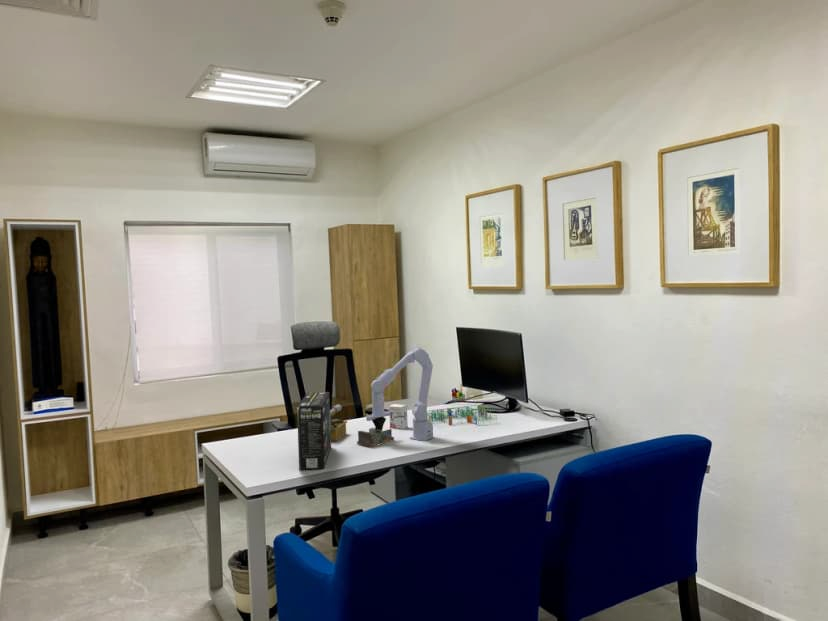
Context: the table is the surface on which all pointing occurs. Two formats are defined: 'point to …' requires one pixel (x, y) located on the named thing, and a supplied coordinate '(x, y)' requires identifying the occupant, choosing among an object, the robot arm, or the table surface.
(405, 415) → the ink box
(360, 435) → the stone ruin model
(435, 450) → the table surface
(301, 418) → the router box
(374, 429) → the gauge slider
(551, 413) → the table surface
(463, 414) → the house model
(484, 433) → the table surface
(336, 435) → the geiger counter
